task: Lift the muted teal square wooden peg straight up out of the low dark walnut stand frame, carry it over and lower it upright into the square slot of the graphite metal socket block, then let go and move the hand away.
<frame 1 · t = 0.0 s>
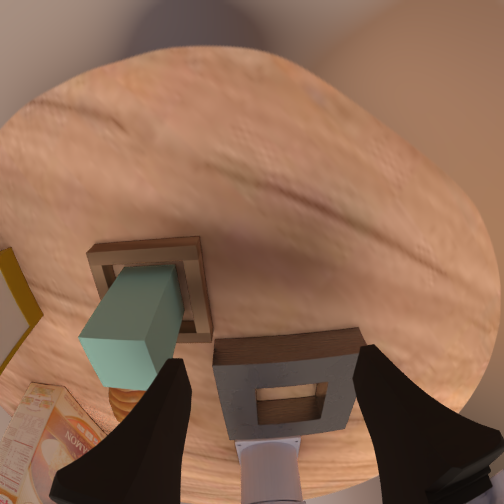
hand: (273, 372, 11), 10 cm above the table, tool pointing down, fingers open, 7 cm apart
socket block: (287, 381, 26), on the table
coffeecake box: (76, 417, 30), on the table
pastry: (141, 391, 27), on the table
teal peg: (139, 322, 18), in the stand frame
stand frame: (154, 289, 21), on the table
soap bottle: (22, 282, 21), on the table
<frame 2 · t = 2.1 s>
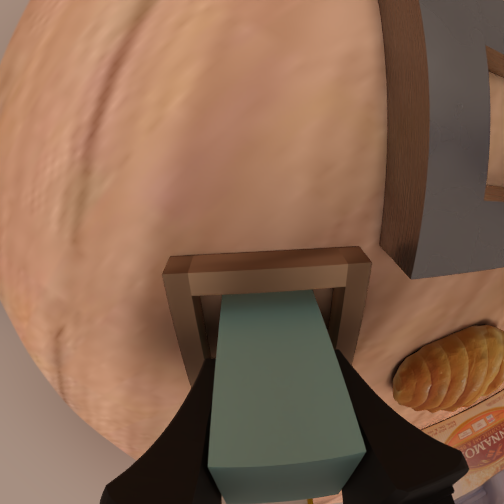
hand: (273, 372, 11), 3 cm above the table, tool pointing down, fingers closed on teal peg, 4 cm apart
socket block: (487, 126, 10), on the table
coffeecake box: (458, 422, 22), on the table
pastry: (448, 358, 17), on the table
teal peg: (275, 392, 10), in the stand frame, touching gripper
stand frame: (268, 327, 14), on the table
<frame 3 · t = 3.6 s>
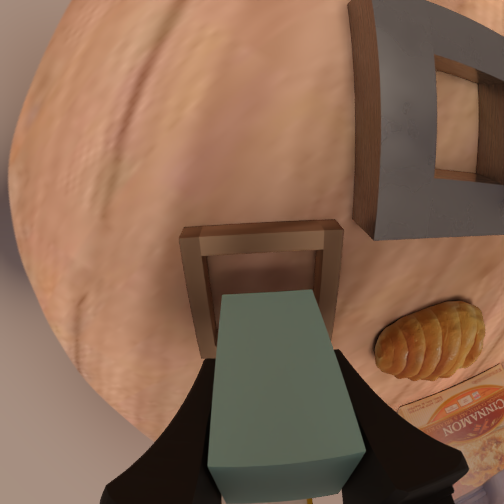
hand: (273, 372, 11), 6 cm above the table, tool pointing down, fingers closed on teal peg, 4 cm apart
socket block: (446, 120, 13), on the table
coffeecake box: (446, 400, 25), on the table
pastry: (427, 332, 20), on the table
teal peg: (275, 392, 10), point 8 cm above the table, touching gripper
stand frame: (262, 288, 17), on the table
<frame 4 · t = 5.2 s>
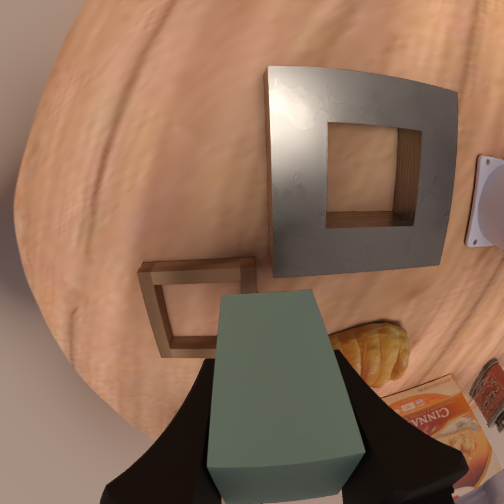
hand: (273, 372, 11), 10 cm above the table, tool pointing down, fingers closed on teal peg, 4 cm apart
socket block: (358, 168, 18), on the table
coffeecake box: (395, 405, 30), on the table
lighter: (481, 376, 30), on the table
pastry: (358, 347, 25), on the table
teal peg: (275, 392, 10), point 11 cm above the table, touching gripper
stand frame: (203, 307, 22), on the table
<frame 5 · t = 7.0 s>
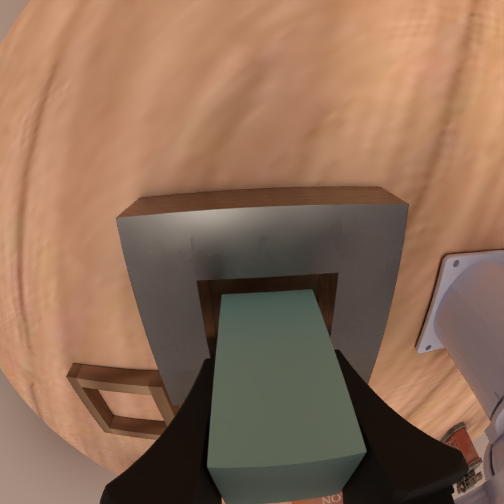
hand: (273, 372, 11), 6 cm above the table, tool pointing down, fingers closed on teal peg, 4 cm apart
socket block: (265, 296, 16), on the table
coffeecake box: (347, 466, 28), on the table
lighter: (448, 436, 28), on the table
teal peg: (275, 392, 10), point 7 cm above the table, touching gripper
stand frame: (131, 400, 20), on the table
when the fingers open (4 cm above the table, at t = 8.3 s): teal peg drops 1 cm, resting in socket block.
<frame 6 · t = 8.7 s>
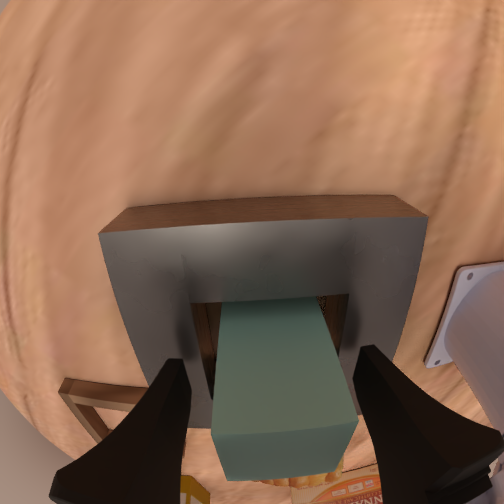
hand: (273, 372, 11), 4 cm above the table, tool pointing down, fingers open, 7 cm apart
socket block: (266, 315, 15), on the table
coffeecake box: (349, 476, 27), on the table
pastry: (296, 450, 22), on the table
teal peg: (274, 372, 11), in the socket block
stand frame: (126, 415, 19), on the table
soap bottle: (164, 475, 25), on the table
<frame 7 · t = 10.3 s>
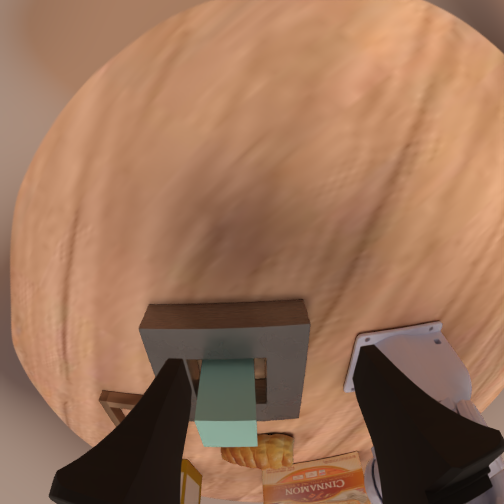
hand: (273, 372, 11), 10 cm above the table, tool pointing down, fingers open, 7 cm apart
socket block: (230, 358, 25), on the table
coffeecake box: (309, 466, 37), on the table
pastry: (262, 442, 33), on the table
teal peg: (229, 392, 21), in the socket block
stand frame: (144, 414, 29), on the table
soap bottle: (167, 459, 35), on the table
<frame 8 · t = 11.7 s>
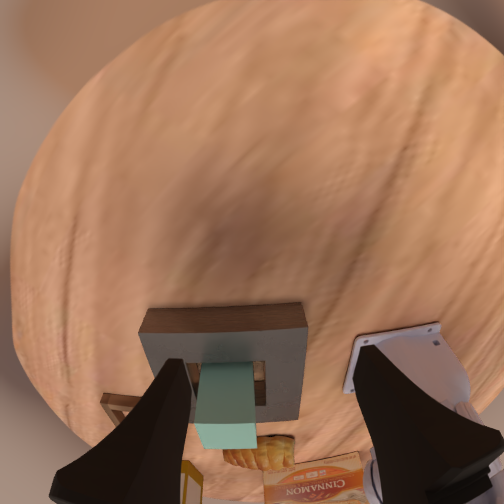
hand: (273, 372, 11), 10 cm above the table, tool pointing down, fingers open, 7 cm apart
socket block: (229, 361, 25), on the table
coffeecake box: (310, 467, 37), on the table
pastry: (264, 444, 33), on the table
teal peg: (228, 395, 21), in the socket block
stand frame: (145, 416, 29), on the table
soap bottle: (168, 460, 35), on the table
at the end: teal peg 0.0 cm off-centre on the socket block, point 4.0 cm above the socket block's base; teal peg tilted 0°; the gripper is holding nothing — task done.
